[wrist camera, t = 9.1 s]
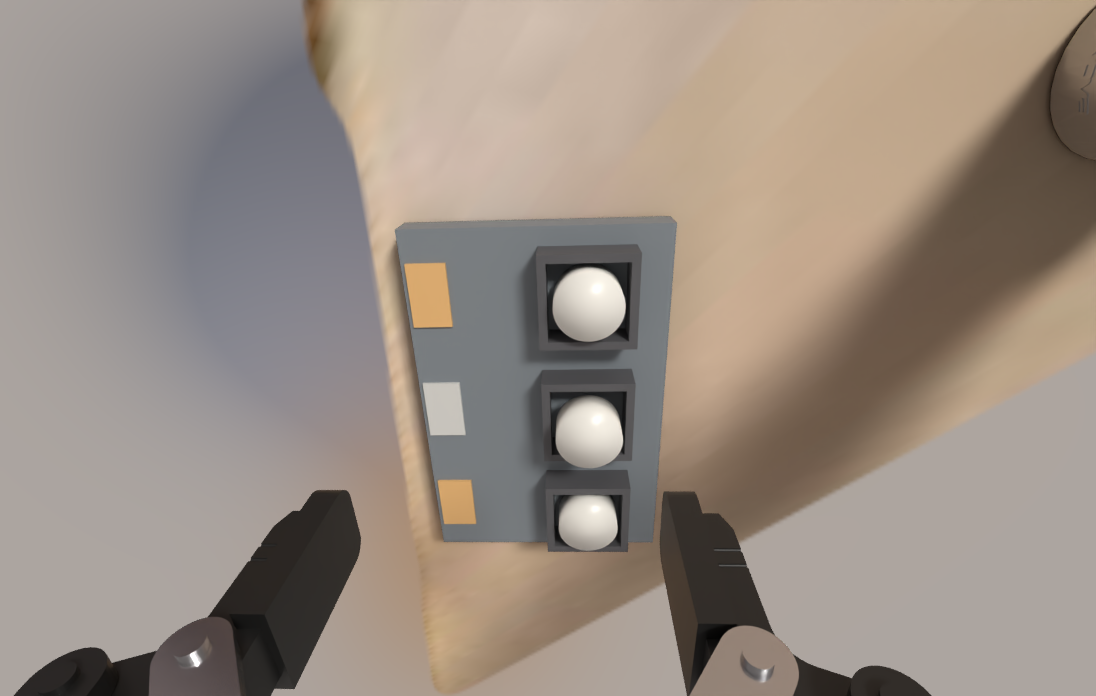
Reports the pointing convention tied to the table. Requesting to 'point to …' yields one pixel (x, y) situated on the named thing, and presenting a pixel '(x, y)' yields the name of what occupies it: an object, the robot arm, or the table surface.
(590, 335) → the button
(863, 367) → the table surface
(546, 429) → the switch panel
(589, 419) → the button
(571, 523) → the button
